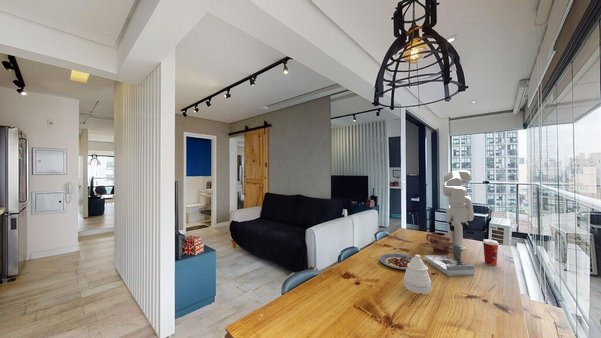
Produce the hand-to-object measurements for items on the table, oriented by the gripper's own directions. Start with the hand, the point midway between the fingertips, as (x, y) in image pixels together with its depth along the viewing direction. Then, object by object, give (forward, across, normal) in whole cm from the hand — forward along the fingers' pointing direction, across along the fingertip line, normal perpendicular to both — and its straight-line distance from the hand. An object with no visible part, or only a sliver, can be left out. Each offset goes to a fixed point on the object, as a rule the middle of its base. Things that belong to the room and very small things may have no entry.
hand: (458, 230), depth 156 cm
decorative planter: (+21, +1, -18) cm, 27 cm away
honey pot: (+21, +50, +30) cm, 61 cm away
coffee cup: (+21, -17, +6) cm, 28 cm away
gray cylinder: (+21, +1, -1) cm, 21 cm away
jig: (+21, +15, +8) cm, 27 cm away
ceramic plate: (+21, +42, -1) cm, 47 cm away
